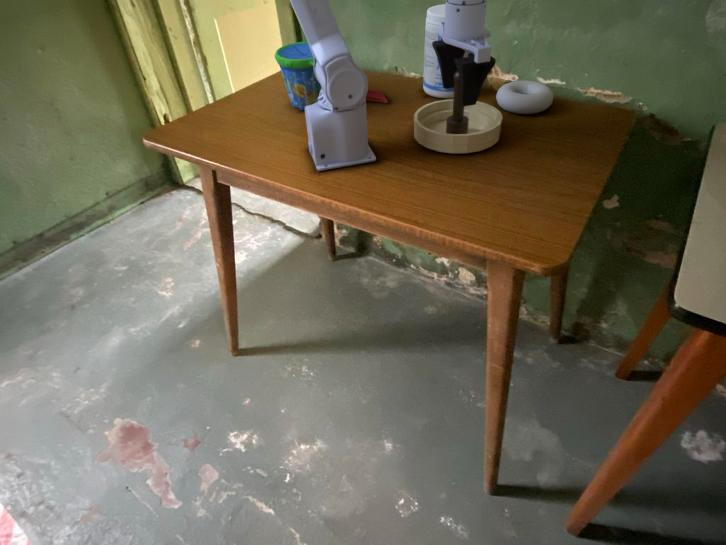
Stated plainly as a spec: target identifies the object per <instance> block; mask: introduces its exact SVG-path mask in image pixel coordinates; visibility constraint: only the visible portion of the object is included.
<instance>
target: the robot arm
mask: <svg viewBox="0 0 726 545" xmlns="http://www.w3.org/2000/svg"><path fill="white" fill-rule="evenodd" d="M289 2H290V5H291V7H292V9H293V11H294V13H295V16H296V18H297V20H298V23H299V25H300V27H301V29H302V32H303V34H304V36H305V39H306V42H308V44H309V47H310V50H311V52H312V55H313V58H314V74H315V77H316V79H317V80H318V82H319V83H320V85H321V86H322V89H321V91H320V94H319V97H318V102H316V103H315V104H312V105H309V106H306V107H305V110H304V116H305V117H304V118H305V123H306V124H305V125H306V130H307V132H306V133H307V138H308V139H307V140H308V142H307V144H308V150H309V154H310V155H311V157H312V160H313V163H314V165H315V168H316V170H317V171H319V172H320V171H327V170H333V169H338V168H343V167H344V168H345V167H350V166H355V165H362V164H367V163H372V162H375V161H377V157H376V155H375V153H374V152H373V150H372V148H371V147H370V145H369V135H368V117H367V116H368V115H367V100H366V94H367V91H368V89H369V80H368V76H367V74H366V73H365V71H364V70H363V68H362V67H360V66H359V64H357V62H356V61H355V60H354V58H353V56H352V54H351V51H350V49H349V47H348V46H347V42H346V41H345V39H344V37H343V35H342V33H341V30H340V28H339V25H338V22H337V19H336V18H335V15H334V13H333V9H332V7H331V5H330V3H329V0H289ZM445 4H446V7H445V22H440V24H439V36H441V37H442V38H441V40H439V41H434V42H432V46H433V48H434V50H435V52H436V55H437V58H438V62H439V66H440V71H441V78H442V83H443V87H444V89H448V88H454V85H455V81H454V74H455V72H456V71H458V73H459V78H460V95H461V103H462V105H463V106H470V105H475V104H476V102H477V101H478V100H479V98H480V93H481V90H482V89H483V85H484V83H485V81H486V79H487V77H488V75H489V73H491V71H492V69H493V68H494V67H495V65H496V61H497V60H496V58H494V57H493V56H492V46H490V44H489V43H488V40H487V38H490V37H491V36H492V32H491V31H490V30H488V29H487V28H485V23H486V14H487V4H488V0H445ZM465 51H466V52H467V53H468V58H467V57H464V54H465ZM463 57H464V58H463Z"/></svg>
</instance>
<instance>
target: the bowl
mask: <svg viewBox="0 0 726 545" xmlns="http://www.w3.org/2000/svg"><path fill="white" fill-rule="evenodd" d="M453 100H454V98H451V99H441V100H436V101H433V102H430V103H426V104H424V105H423V106H420V107H419V108H418V109H417V110H416V111H415V112H414V114H413V138H414V139H415V140H416V142H417V143H418V144H420V145H421V146H423V147H425V149H430V150H432V151H436V152H439V153H445V154H446V153H447V154H471V153H476V152H477V153H478V152H481V151H484V150H486V149H490V148H491V147H493V146H494V145H495V144H496V143H497V142H499V140H500V137H501V134H502V126H503V119H504V118H503V115H502V112H501V111H500V110H499V109H498V108H496V107H495V106H493V105H491V104H489V103H486V102H482V101H478V100H477V102H476V104H475V105H470V106H464V116H466V117H468V119H469V123H468V134H448V133H446V122H447V118H448V117H449V116H452V114H453Z"/></svg>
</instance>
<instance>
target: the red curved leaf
mask: <svg viewBox="0 0 726 545" xmlns="http://www.w3.org/2000/svg"><path fill="white" fill-rule="evenodd" d="M366 102H379V103H384V104H388V103H389V102H388V99H387V98H386V97H385V96H384V94H382V93H381V92H379V91H377V90H374V89H370V88H368V91H367V94H366Z"/></svg>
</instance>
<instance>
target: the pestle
mask: <svg viewBox="0 0 726 545" xmlns="http://www.w3.org/2000/svg"><path fill="white" fill-rule="evenodd" d="M454 81H455V85H454V98H453V99H454V100H453V114H452V116H449V117H448V118H447V122H446V133H448V134H468V123H469V119H468V117H466V116H464V106H463V105H462V103H461V95H460V78H459V73H458V71H456V72H455V74H454Z"/></svg>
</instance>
